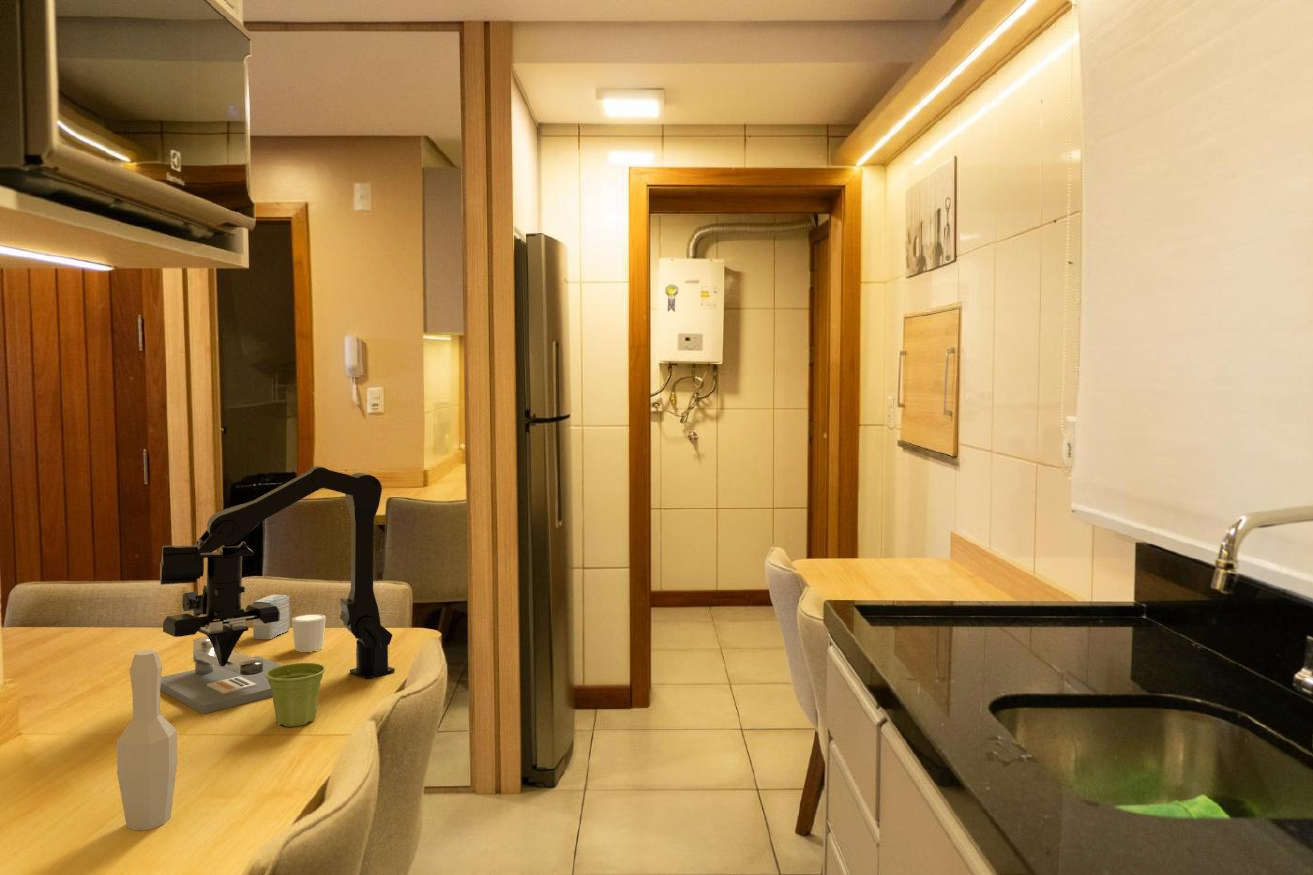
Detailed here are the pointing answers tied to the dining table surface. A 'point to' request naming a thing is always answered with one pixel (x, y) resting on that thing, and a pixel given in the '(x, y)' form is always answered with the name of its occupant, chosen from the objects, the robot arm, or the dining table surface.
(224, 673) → the label board
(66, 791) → the dining table surface
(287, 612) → the medicine box
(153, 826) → the low poly bottle
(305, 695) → the plant pot
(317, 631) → the white cup
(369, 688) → the dining table surface
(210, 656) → the swing arm
